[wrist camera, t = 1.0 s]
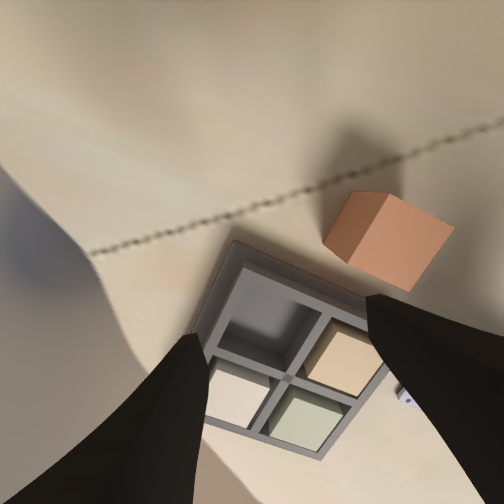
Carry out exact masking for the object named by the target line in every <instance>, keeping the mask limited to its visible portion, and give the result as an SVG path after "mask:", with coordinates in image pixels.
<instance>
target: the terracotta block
mask: <svg viewBox="0 0 504 504" xmlns="http://www.w3.org/2000/svg"><path fill="white" fill-rule="evenodd" d="M454 228H455V227H453V226H451V225H449V224H447V223H445V222H443V221H441V220H440V219H438V218H436V217H434V216H432V215H430V214H428V213H426V212H424V211H422V210H420V209H419V208H417V207H415V206H413V205H411V204H409V203H407V202H405V201H403V200H401V199H399V198H398V197H396V196H394V195H392V194H390V193H375V192H361V191H352V193H351V195H350V196H349V198H348V200H347V202H346V203H345V205H344V207H343V209H342V210H341V212H340V214H339V216H338V218H337V219H336V221H335V223H334V225H333V226H332V228H331V230H330V232H329V233H328V235H327V237H326V239H325V241H324V242H323V245H325V246H326V247H327V248H328V249H330V250H331V251H332V252H333V253H334V254H336V255H337V256H338V257H339V258H341V259H342V260H343V261H344V262H346V263H347V264H349V265H351V266H353V267H355V268H357V269H359V270H362V271H364V272H366V273H368V274H370V275H372V276H375V277H377V278H379V279H381V280H383V281H385V282H387V283H390V284H392V285H394V286H396V287H398V288H400V289H403V290H405V291H407V292H410V290H411V289H412V287H413V286H414V284H415V283H416V282H417V280H418V279H419V277H420V276H421V275H422V273H423V272H424V270H425V269H426V268H427V266H428V265H429V263H430V262H431V260H432V259H433V258H434V256H435V255H436V253H437V252H438V251H439V249H440V248H441V246H442V245H443V244H444V242H445V241H446V239H447V238H448V236H449V235H450V234H451V232H452V231H453V229H454Z"/></svg>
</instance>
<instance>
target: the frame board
mask: <svg viewBox="0 0 504 504" xmlns="http://www.w3.org/2000/svg"><path fill="white" fill-rule="evenodd" d="M193 333H197V334H198V337H199V340H200V343H201V346H202V349H203V352H204V355H205V358H206V361H207V364H208V367H209V370H210V375H209V394H208V401H207V407H206V413H205V419H204V423H207V424H210V425H213V426H216V427H219V428H222V429H225V430H228V431H231V432H234V433H237V434H240V435H243V436H246V437H249V438H252V439H255V440H258V441H261V442H264V443H267V444H270V445H273V446H276V447H279V448H282V449H286V450H289V451H292V452H295V453H298V454H301V455H304V456H307V457H310V458H313V459H316V460H319V461H321V460H322V459H323V458H324V456H325V455H326V454H327V452H328V451H329V450H330V448H331V447H332V446H333V445H334V443H335V442H336V441H337V439H338V438H339V437H340V435H341V434H342V433H343V431H344V430H345V429H346V427H347V426H348V425H349V424H350V422H351V421H352V420H353V418H354V417H355V416H356V414H357V413H358V412H359V410H360V409H361V408H362V406H363V405H364V404H365V403H366V401H367V400H368V399H369V397H370V396H371V395H372V393H373V392H374V391H375V389H376V388H377V387H378V385H379V384H380V383H381V382H382V380H383V379H384V378H385V376H386V375H387V374H388V372H389V371H390V369H389V368H388V367H387V366H386V364H385V363H384V362H383V360H382V359H381V357H380V356H379V354H378V353H377V351H376V350H375V348H374V346H373V345H372V343H371V341H370V339H369V338H368V326H367V311H366V298H363V297H361V296H359V295H357V294H354V293H352V292H350V291H348V290H345V289H343V288H341V287H339V286H336V285H334V284H332V283H330V282H327V281H325V280H323V279H321V278H318V277H316V276H314V275H312V274H309V273H307V272H305V271H303V270H300V269H298V268H296V267H294V266H291V265H289V264H287V263H285V262H282V261H280V260H278V259H276V258H273V257H271V256H269V255H267V254H264V253H262V252H260V251H258V250H256V249H253V248H251V247H249V246H247V245H244V244H242V243H240V242H238V241H235V240H233V242H232V245H231V247H230V249H229V251H228V253H227V256H226V258H225V260H224V262H223V264H222V267H221V269H220V271H219V273H218V275H217V278H216V280H215V282H214V284H213V286H212V289H211V291H210V293H209V295H208V297H207V300H206V302H205V304H204V306H203V308H202V311H201V313H200V315H199V317H198V319H197V322H196V324H195V326H194V328H193V330H192V333H191V334H193Z"/></svg>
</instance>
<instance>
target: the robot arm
mask: <svg viewBox="0 0 504 504" xmlns="http://www.w3.org/2000/svg"><path fill="white" fill-rule="evenodd" d="M366 311H367V326H368V338H369V339H370V341H371V343H372V345H373V346H374V348H375V350H376V351H377V353H378V354H379V356H380V357H381V359H382V360H383V362H384V363H385V364H386V366H387V367H388V368H389V369H390V371H391V372H392V373H393V374H394V376H395V377H396V378H397V380H398V381H399V382H400V383H401V385H402V386H403V388H402V389H401V391H400V392H399V393H398V395H397V398H398V400H399V401H400V402H402V403H404V404H407V405H409V406H412V407H415V408H417V409H420V410H422V411H423V412H424V413H425V415H426V416H427V417H428V419H429V420H430V421H431V423H432V424H433V425H434V427H435V428H436V430H437V431H438V432H439V434H440V435H441V437H442V438H443V440H444V441H445V443H446V444H447V446H448V447H449V449H450V450H451V452H452V453H453V455H454V456H455V458H456V459H457V461H458V462H459V464H460V465H461V467H462V468H463V470H464V471H465V473H466V475H467V476H468V478H469V479H470V481H471V482H472V484H473V485H474V487H475V488H476V490H477V492H478V493H479V495H480V496H481V498H482V499H483V501H484V502H485V504H504V337H503V336H499V335H495V334H492V333H488V332H485V331H482V330H479V329H476V328H473V327H470V326H467V325H464V324H461V323H458V322H455V321H452V320H449V319H446V318H443V317H441V316H438V315H435V314H432V313H430V312H427V311H425V310H422V309H419V308H417V307H414V306H412V305H409V304H407V303H404V302H401V301H399V300H396V299H394V298H391V297H388V296H385V295H382V294H377V295H372V296H368V297H366ZM209 375H210V370H209V367H208V364H207V361H206V358H205V355H204V352H203V349H202V346H201V343H200V340H199V337H198V334H197V333H193V334H188V335H183V336H182V337H181V338H180V339H179V340H178V341H177V343H176V344H175V345H174V346H173V347H172V349H171V350H170V351H169V352H168V353H167V355H166V356H165V357H164V358H163V359H162V360H161V362H160V363H159V364H158V365H157V366H156V367H155V369H154V370H153V371H152V372H151V373H150V374H149V376H148V377H147V378H146V379H145V380H144V381H143V382H142V383H141V384H140V385H139V386H138V388H137V389H136V390H135V391H134V392H133V393H132V394H131V395H130V396H129V397H128V398H127V399H126V400H125V401H124V402H123V404H121V405H120V406H119V407H118V408H117V409H116V410H115V411H114V412H113V413H112V414H111V415H110V416H109V417H108V418H107V419H106V420H105V421H104V422H103V423H102V424H100V425H99V426H98V427H97V429H95V430H94V431H93V432H92V433H90V434H89V435H88V436H87V437H86V438H85V439H84V440H82V441H81V442H80V443H79V444H78V445H77V446H76V447H74V448H73V449H72V450H71V451H70V452H68V453H67V454H66V455H65V456H64V457H62V458H61V459H60V460H59V461H58V462H56V463H55V464H54V465H53V466H51V467H50V468H49V469H48V470H46V471H45V472H44V473H43V474H41V475H40V476H39V477H38V478H36V479H35V480H34V481H32V482H31V483H30V484H28V485H27V486H26V487H24V488H23V489H22V490H21V491H19V492H18V493H17V494H15V495H14V496H13V497H11V498H10V499H9V500H7V501H6V502H5V503H3V504H193V493H194V483H195V474H196V466H197V459H198V454H199V448H200V442H201V436H202V431H203V425H204V419H205V413H206V407H207V401H208V394H209Z"/></svg>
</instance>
